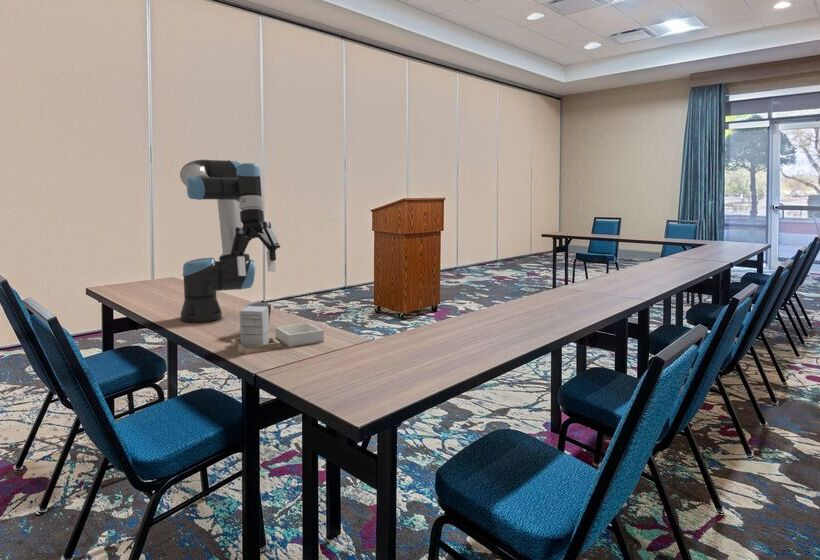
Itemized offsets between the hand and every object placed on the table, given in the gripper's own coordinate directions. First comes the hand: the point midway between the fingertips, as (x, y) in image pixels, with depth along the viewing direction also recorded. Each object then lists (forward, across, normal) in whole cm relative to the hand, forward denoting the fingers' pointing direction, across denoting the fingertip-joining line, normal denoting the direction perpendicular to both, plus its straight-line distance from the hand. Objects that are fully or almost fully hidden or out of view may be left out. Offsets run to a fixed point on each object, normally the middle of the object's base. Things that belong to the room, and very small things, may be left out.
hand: (256, 273), depth 178 cm
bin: (+24, +8, +9) cm, 26 cm away
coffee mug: (+20, -11, +11) cm, 25 cm away
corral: (+24, +1, -4) cm, 24 cm away
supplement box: (+24, +1, -4) cm, 25 cm away
